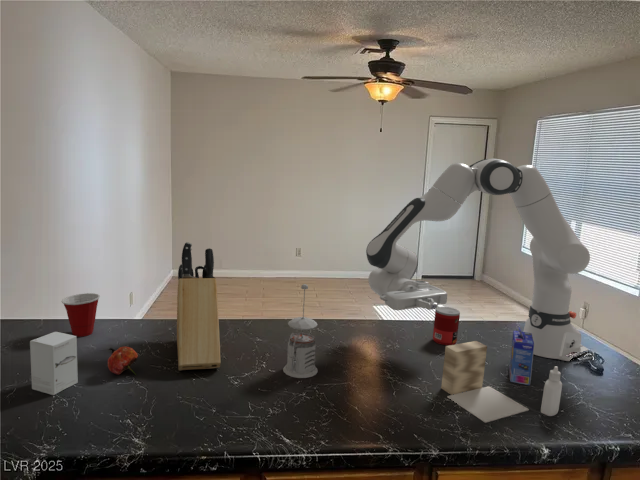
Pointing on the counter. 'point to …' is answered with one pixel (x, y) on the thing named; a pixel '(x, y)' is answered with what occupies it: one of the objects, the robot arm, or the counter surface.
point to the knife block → (197, 314)
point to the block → (463, 367)
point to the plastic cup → (81, 312)
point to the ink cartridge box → (521, 357)
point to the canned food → (446, 325)
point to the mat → (487, 404)
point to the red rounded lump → (121, 359)
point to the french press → (301, 348)
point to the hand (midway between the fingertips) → (433, 306)
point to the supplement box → (53, 362)
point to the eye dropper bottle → (552, 393)
